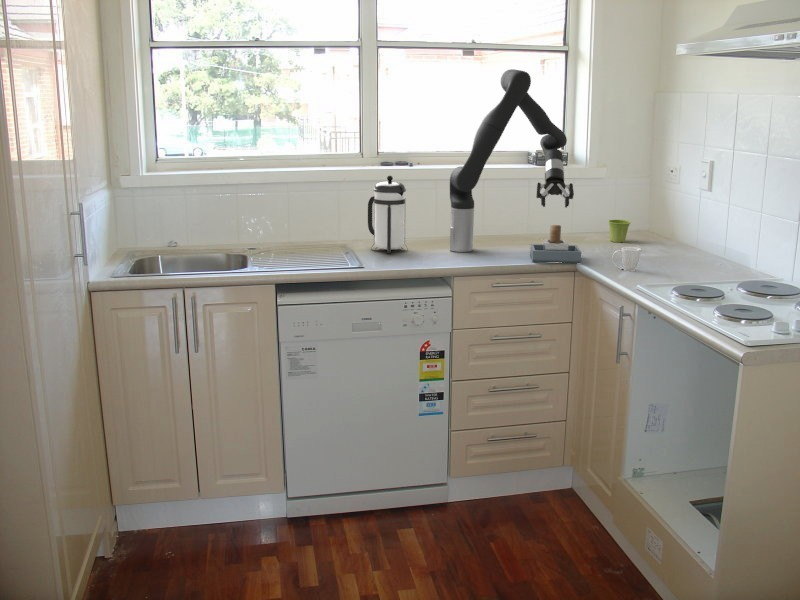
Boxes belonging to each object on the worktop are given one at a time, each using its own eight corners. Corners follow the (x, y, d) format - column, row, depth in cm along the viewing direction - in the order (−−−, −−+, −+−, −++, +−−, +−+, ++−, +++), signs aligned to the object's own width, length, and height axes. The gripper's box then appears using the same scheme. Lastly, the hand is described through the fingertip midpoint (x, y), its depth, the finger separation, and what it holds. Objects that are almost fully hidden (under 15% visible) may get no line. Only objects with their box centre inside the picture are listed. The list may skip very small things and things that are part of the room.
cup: (639, 272, 285) (641, 250, 283) (611, 271, 287) (612, 249, 285) (639, 268, 292) (641, 247, 289) (611, 266, 294) (612, 245, 292)
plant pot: (630, 240, 344) (632, 220, 342) (627, 244, 336) (629, 223, 333) (608, 238, 348) (609, 218, 345) (605, 242, 339) (606, 222, 337)
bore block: (544, 259, 301) (545, 243, 300) (542, 254, 309) (543, 239, 308) (567, 259, 300) (568, 244, 299) (564, 254, 309) (565, 239, 307)
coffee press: (409, 246, 326) (410, 173, 319) (406, 254, 311) (407, 178, 303) (368, 245, 328) (367, 172, 320) (362, 253, 313) (362, 177, 305)
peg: (549, 257, 303) (550, 226, 300) (548, 255, 307) (549, 225, 304) (560, 257, 303) (561, 226, 300) (559, 255, 307) (560, 224, 304)
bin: (532, 262, 300) (533, 250, 299) (529, 255, 312) (530, 244, 311) (580, 263, 298) (581, 252, 297) (576, 256, 311) (576, 245, 310)
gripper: (537, 166, 314) (537, 199, 306) (573, 167, 313) (575, 200, 305) (535, 178, 320) (535, 211, 312) (571, 179, 319) (572, 212, 311)
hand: (555, 206), depth 309 cm, fingers open, 8 cm apart
